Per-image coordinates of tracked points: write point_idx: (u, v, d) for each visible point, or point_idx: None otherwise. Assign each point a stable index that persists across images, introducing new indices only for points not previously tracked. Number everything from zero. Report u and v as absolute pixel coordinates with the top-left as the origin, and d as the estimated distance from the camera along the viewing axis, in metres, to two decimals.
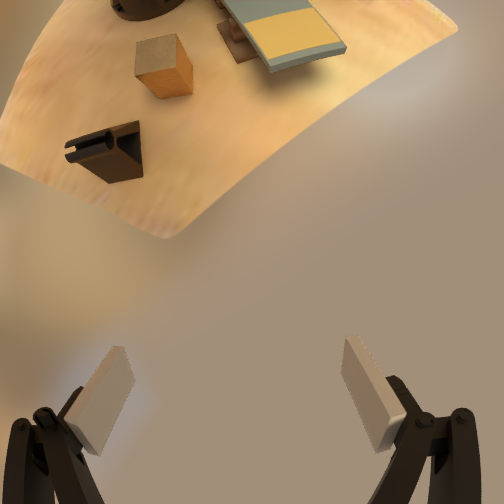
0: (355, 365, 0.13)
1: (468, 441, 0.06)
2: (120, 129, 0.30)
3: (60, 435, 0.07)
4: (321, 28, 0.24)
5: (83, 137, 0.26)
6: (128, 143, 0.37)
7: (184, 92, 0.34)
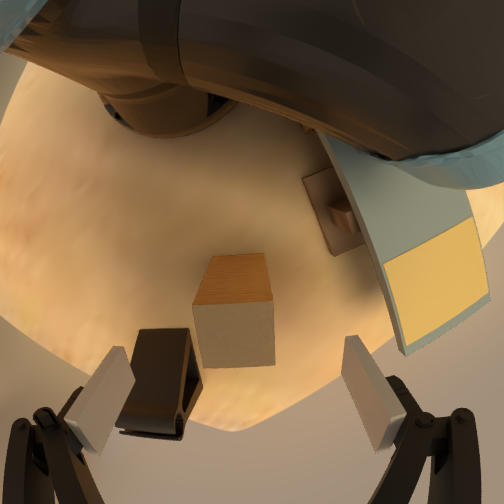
0: (355, 365, 0.13)
1: (468, 441, 0.06)
2: (180, 387, 0.23)
3: (60, 435, 0.07)
4: (474, 268, 0.17)
5: (141, 424, 0.19)
6: None
7: None
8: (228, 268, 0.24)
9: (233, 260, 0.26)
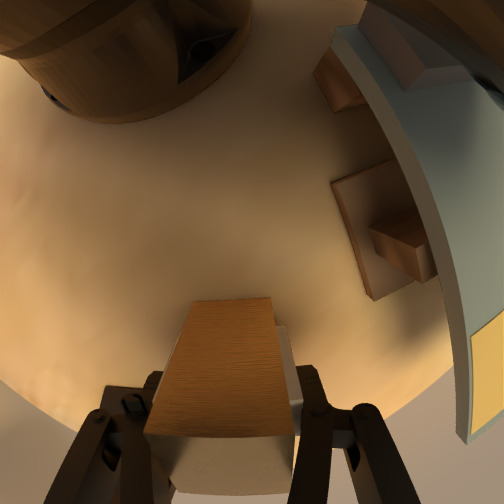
0: None
1: (378, 436, 0.08)
2: None
3: None
4: None
5: None
6: None
7: None
8: (214, 331, 0.14)
9: (223, 312, 0.16)
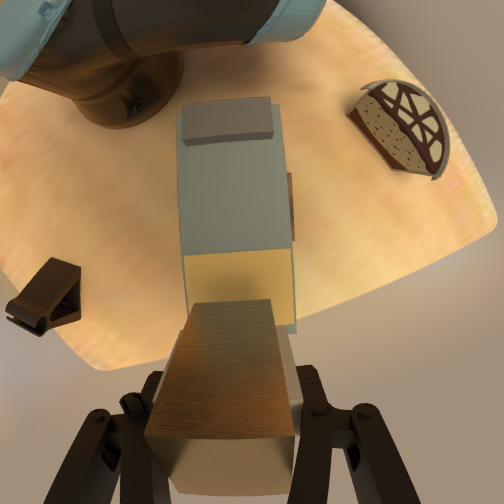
0: None
1: (378, 436, 0.08)
2: (54, 301, 0.29)
3: (146, 424, 0.09)
4: (279, 295, 0.25)
5: (19, 313, 0.24)
6: None
7: None
8: (214, 332, 0.14)
9: (223, 313, 0.16)
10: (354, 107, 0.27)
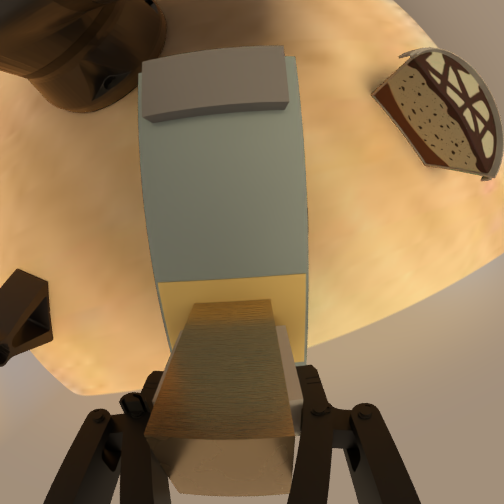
0: None
1: (378, 436, 0.08)
2: (16, 324, 0.21)
3: (146, 424, 0.09)
4: (287, 330, 0.19)
5: None
6: None
7: None
8: (214, 332, 0.14)
9: (223, 313, 0.16)
10: (385, 83, 0.19)
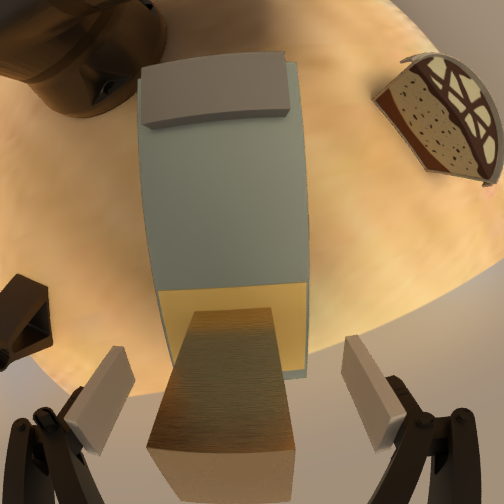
0: (355, 365, 0.13)
1: (468, 441, 0.06)
2: (16, 330, 0.20)
3: (60, 435, 0.07)
4: (288, 339, 0.19)
5: None
6: None
7: None
8: (215, 343, 0.14)
9: (224, 322, 0.16)
10: (386, 88, 0.19)
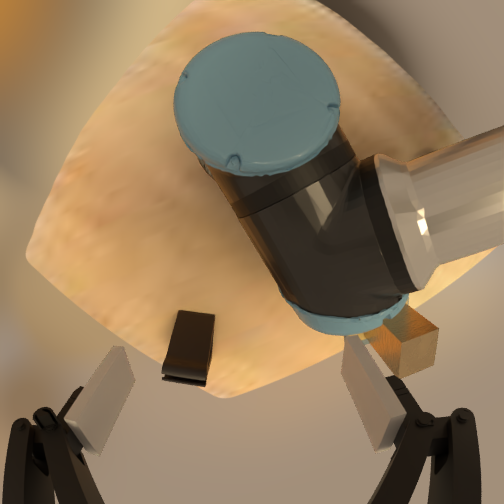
0: (355, 365, 0.13)
1: (468, 441, 0.06)
2: (209, 351, 0.38)
3: (60, 435, 0.07)
4: None
5: (182, 372, 0.33)
6: None
7: None
8: None
9: None
10: None
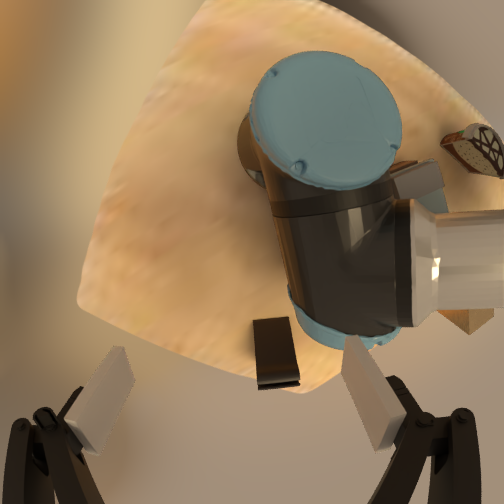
0: (355, 365, 0.13)
1: (468, 441, 0.06)
2: (294, 352, 0.40)
3: (60, 435, 0.07)
4: None
5: (277, 377, 0.36)
6: None
7: None
8: None
9: None
10: (451, 143, 0.35)
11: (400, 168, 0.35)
